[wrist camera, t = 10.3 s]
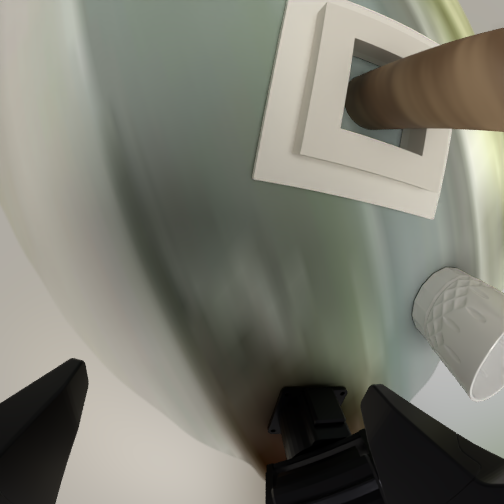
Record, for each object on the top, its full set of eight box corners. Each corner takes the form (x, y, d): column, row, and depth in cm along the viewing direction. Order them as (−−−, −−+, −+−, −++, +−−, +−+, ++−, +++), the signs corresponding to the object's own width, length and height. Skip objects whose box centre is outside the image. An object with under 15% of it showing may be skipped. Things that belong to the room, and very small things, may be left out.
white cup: (477, 262, 24) (549, 308, 14) (451, 333, 26) (508, 390, 17) (421, 257, 22) (504, 315, 13) (395, 338, 25) (452, 412, 16)
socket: (426, 216, 21) (449, 226, 18) (251, 177, 19) (257, 183, 16) (450, 57, 17) (473, 52, 14) (288, -11, 15) (299, -30, 12)
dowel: (377, 141, 19) (532, 157, 7) (333, 105, 18) (479, 70, 6) (402, 100, 18) (552, 89, 6) (361, 64, 17) (502, 9, 5)
